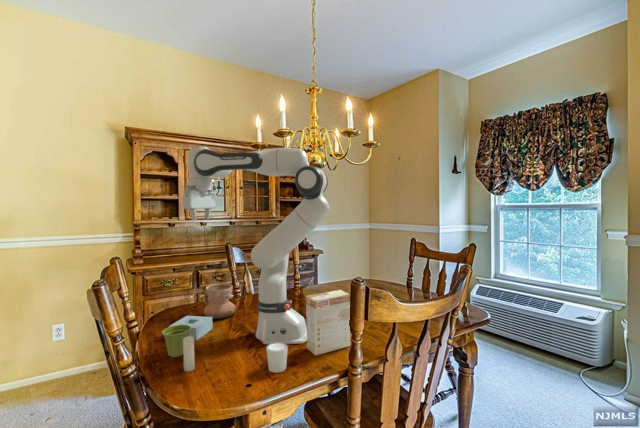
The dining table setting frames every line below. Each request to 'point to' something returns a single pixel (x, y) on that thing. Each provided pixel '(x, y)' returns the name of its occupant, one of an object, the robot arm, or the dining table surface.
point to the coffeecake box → (328, 321)
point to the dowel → (188, 353)
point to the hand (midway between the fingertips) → (200, 219)
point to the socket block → (196, 325)
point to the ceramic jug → (219, 301)
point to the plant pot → (175, 339)
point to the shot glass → (277, 356)
